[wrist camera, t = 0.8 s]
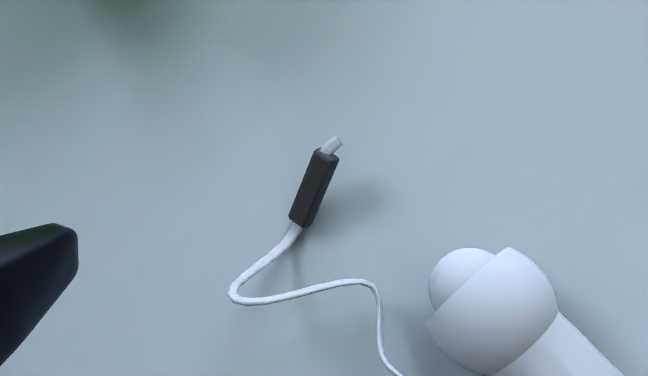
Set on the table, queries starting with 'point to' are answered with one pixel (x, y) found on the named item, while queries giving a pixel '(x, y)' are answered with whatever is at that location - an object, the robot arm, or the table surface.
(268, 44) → the table surface
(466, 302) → the clip-on lamp
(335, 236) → the table surface
